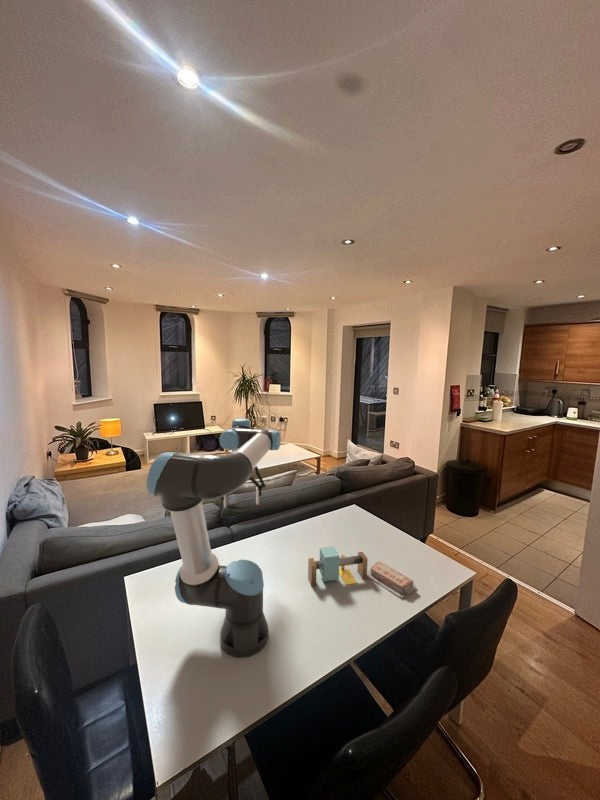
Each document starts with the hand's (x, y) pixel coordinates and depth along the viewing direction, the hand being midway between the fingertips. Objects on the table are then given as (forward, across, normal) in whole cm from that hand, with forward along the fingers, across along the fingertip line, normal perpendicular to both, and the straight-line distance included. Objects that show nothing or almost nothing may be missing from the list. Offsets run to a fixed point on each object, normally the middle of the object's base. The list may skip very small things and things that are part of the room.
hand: (241, 505), depth 139 cm
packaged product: (+28, -57, +26) cm, 68 cm away
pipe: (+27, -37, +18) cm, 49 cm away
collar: (+25, -33, +19) cm, 45 cm away
